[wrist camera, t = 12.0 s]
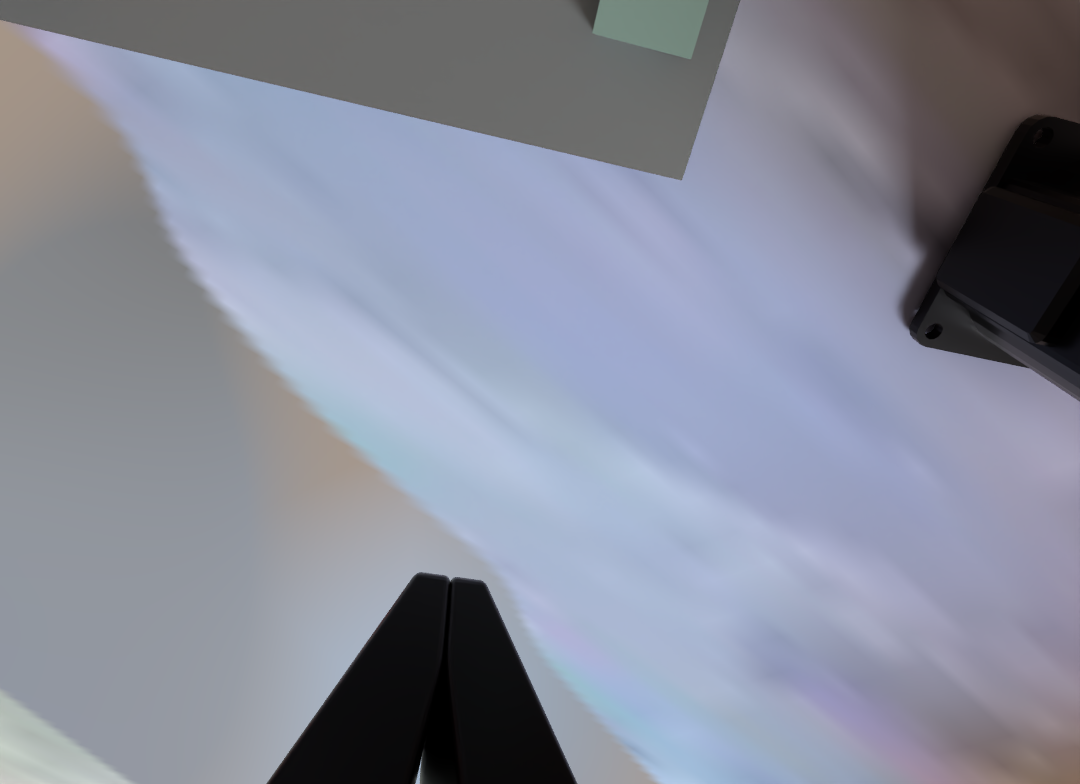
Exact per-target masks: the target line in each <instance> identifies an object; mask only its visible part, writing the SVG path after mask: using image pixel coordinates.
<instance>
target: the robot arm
mask: <svg viewBox="0 0 1080 784" xmlns="http://www.w3.org/2000/svg"><path fill="white" fill-rule="evenodd" d="M1040 129H1042V131H1043V133H1042V136H1041V138H1040V139H1039V141H1038V142H1037V143H1035V144H1033V138H1034V135H1035V134H1036V133H1037V132H1038V130H1040ZM932 324H935V326H934V328H933V329H932V331H931V332H929V333H927V334H925V332H926V329H927V328H928V327H929V326H930V325H932ZM910 335H911V336H912V338H913V339H914V340H916V341H917V342H918V343H919V344H921V345H923V346H925V347H930V348H935V349H940V350H944V351H949V352H954V353H959V354H964V355H968V356H973V357H978V358H983V359H987V360H992V361H997V362H1002V363H1007V364H1011V365H1016V366H1021V367H1026V368H1030V369H1032V370H1033V371H1035V372H1036V373H1038V374H1039V375H1041V376H1042V377H1044V378H1045V379H1047V380H1048V381H1050V382H1051V383H1053V384H1054V385H1056V386H1057V387H1059V388H1060V389H1062V390H1063V391H1065V392H1066V393H1068V394H1069V395H1071V396H1072V397H1074V398H1075V399H1077V400H1078V401H1080V124H1079V123H1075V122H1071V121H1068V120H1064V119H1060V118H1057V117H1052V116H1046V115H1034V116H1032V117H1029V118H1027V119H1026V120H1025V121H1024V122H1022V123H1021V124H1020V126H1019V127H1018V128H1017V130H1016V131H1015V133H1014V135H1013V137H1012V138H1011V140H1010V142H1009V144H1008V146H1007V148H1006V149H1005V151H1004V153H1003V155H1002V157H1001V159H1000V160H999V162H998V164H997V166H996V168H995V170H994V172H993V173H992V175H991V177H990V179H989V181H988V183H987V184H986V186H985V188H984V190H983V192H982V193H981V195H980V196H979V198H978V200H977V202H976V203H975V205H974V207H973V209H972V211H971V213H970V214H969V216H968V218H967V220H966V222H965V224H964V226H963V227H962V229H961V231H960V233H959V235H958V237H957V238H956V240H955V242H954V244H953V246H952V248H951V250H950V251H949V253H948V255H947V257H946V259H945V261H944V262H943V264H942V266H941V268H940V270H939V272H938V274H937V276H936V279H935V280H934V282H933V284H932V286H931V288H930V290H929V291H928V293H927V295H926V297H925V299H924V301H923V302H922V304H921V306H920V308H919V310H918V312H917V314H916V315H915V317H914V319H913V321H912V323H911V326H910ZM421 757H422V760H421ZM420 761H421V771H420V772H421V773H420V784H577V782H576V780H575V778H574V775H573V773H572V771H571V769H570V767H569V764H568V762H567V760H566V758H565V756H564V753H563V751H562V749H561V747H560V745H559V743H558V740H557V738H556V736H555V734H554V732H553V729H552V727H551V725H550V723H549V721H548V718H547V716H546V714H545V712H544V710H543V707H542V705H541V703H540V701H539V699H538V697H537V695H536V692H535V690H534V688H533V686H532V684H531V681H530V679H529V677H528V675H527V672H526V670H525V668H524V666H523V664H522V662H521V659H520V657H519V655H518V653H517V651H516V649H515V646H514V644H513V642H512V640H511V637H510V635H509V633H508V631H507V629H506V627H505V624H504V622H503V620H502V618H501V615H500V613H499V611H498V609H497V607H496V605H495V602H494V600H493V598H492V596H491V594H490V591H489V589H488V587H487V585H486V584H485V583H484V582H483V581H481V580H474V579H467V578H460V577H455V578H453V579H452V580H451V581H450V580H449V578H448V577H447V576H444V575H437V574H429V573H422V572H420V573H417V574H416V575H415V576H414V577H413V578H412V579H411V581H410V582H409V583H408V585H407V586H406V588H405V589H404V591H403V592H402V593H401V595H400V596H399V598H398V599H397V600H396V602H395V603H394V605H393V606H392V608H391V609H390V610H389V612H388V613H387V615H386V616H385V617H384V619H383V620H382V622H381V623H380V624H379V626H378V627H377V629H376V630H375V632H374V633H373V634H372V636H371V637H370V639H369V640H368V641H367V643H366V644H365V646H364V647H363V648H362V650H361V651H360V653H359V654H358V655H357V657H356V658H355V660H354V661H353V662H352V664H351V665H350V667H349V668H348V670H347V671H346V672H345V674H344V675H343V677H342V678H341V679H340V681H339V682H338V684H337V685H336V686H335V688H334V689H333V691H332V692H331V694H330V695H329V696H328V698H327V699H326V701H325V702H324V704H323V705H322V706H321V708H320V709H319V711H318V712H317V713H316V715H315V716H314V718H313V719H312V720H311V722H310V723H309V725H308V726H307V727H306V729H305V730H304V732H303V733H302V734H301V736H300V738H299V739H298V740H297V742H296V743H295V744H294V746H293V747H292V749H291V750H290V751H289V753H288V754H287V756H286V757H285V758H284V760H283V761H282V763H281V764H280V766H279V767H278V768H277V770H276V771H275V773H274V774H273V775H272V777H271V778H270V780H269V781H268V782H267V784H415V783H416V779H417V774H418V770H419V766H420Z"/></svg>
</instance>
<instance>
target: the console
mask: <svg viewBox="0 0 1080 784" xmlns="http://www.w3.org/2000/svg"><path fill="white" fill-rule="evenodd" d="M739 2H740V0H0V20H3V21H7V22H11V23H16V24H20V25H24V26H28V27H33V28H37V29H41V30H45V31H50V32H54V33H58V34H62V35H67V36H71V37H75V38H79V39H84V40H88V41H92V42H96V43H101V44H105V45H109V46H113V47H118V48H122V49H126V50H130V51H135V52H139V53H143V54H147V55H152V56H156V57H160V58H164V59H169V60H173V61H177V62H181V63H185V64H190V65H194V66H198V67H202V68H207V69H211V70H215V71H219V72H224V73H228V74H232V75H236V76H241V77H245V78H249V79H253V80H258V81H262V82H266V83H270V84H275V85H279V86H283V87H287V88H292V89H296V90H300V91H304V92H309V93H313V94H317V95H321V96H326V97H330V98H334V99H338V100H343V101H347V102H351V103H355V104H360V105H364V106H368V107H372V108H377V109H381V110H385V111H389V112H394V113H398V114H402V115H406V116H410V117H415V118H419V119H423V120H427V121H432V122H436V123H440V124H444V125H449V126H453V127H457V128H461V129H466V130H470V131H474V132H478V133H483V134H487V135H491V136H495V137H500V138H504V139H508V140H512V141H517V142H521V143H525V144H529V145H534V146H538V147H542V148H546V149H551V150H555V151H559V152H563V153H568V154H572V155H576V156H580V157H585V158H589V159H593V160H597V161H602V162H606V163H610V164H614V165H619V166H623V167H627V168H631V169H635V170H640V171H644V172H648V173H652V174H657V175H661V176H665V177H669V178H674V179H678V180H682V178H683V175H684V172H685V169H686V166H687V163H688V160H689V157H690V154H691V150H692V147H693V144H694V141H695V138H696V135H697V132H698V129H699V126H700V123H701V120H702V116H703V113H704V110H705V107H706V104H707V101H708V98H709V95H710V92H711V89H712V86H713V82H714V79H715V76H716V73H717V70H718V67H719V64H720V61H721V58H722V55H723V52H724V48H725V45H726V42H727V39H728V36H729V33H730V30H731V27H732V24H733V21H734V18H735V14H736V11H737V8H738V5H739Z"/></svg>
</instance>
